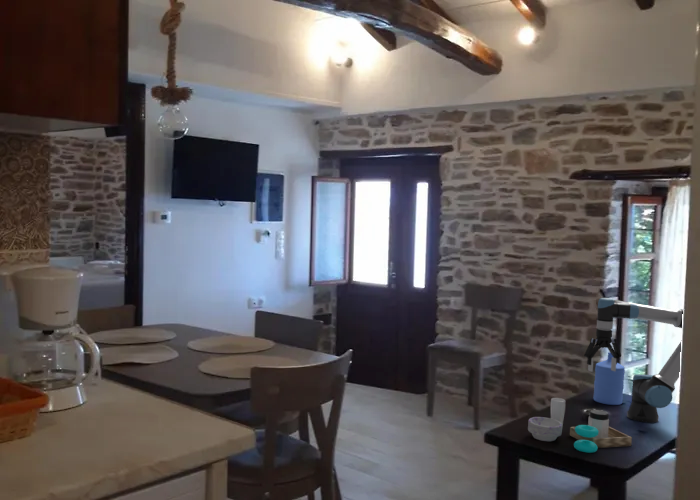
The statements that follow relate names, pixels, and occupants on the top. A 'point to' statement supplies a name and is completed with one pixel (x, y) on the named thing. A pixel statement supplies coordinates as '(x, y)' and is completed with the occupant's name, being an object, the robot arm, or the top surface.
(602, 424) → the jar
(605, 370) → the water jug
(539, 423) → the light grey speckled bowl
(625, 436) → the crate
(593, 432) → the donuts
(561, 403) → the light grey cylinder
